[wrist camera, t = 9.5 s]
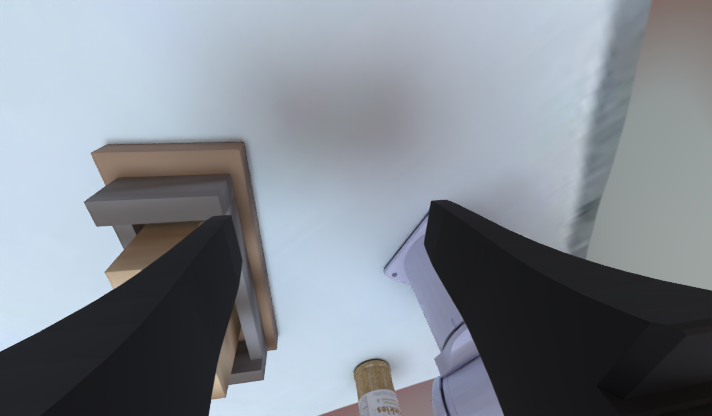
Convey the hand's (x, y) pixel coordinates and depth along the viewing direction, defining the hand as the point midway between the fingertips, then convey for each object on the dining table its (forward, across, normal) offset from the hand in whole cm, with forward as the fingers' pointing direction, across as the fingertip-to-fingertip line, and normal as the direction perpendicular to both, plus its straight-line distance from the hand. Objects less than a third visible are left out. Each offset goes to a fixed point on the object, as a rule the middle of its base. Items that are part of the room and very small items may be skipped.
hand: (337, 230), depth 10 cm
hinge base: (+10, +9, +10) cm, 17 cm away
